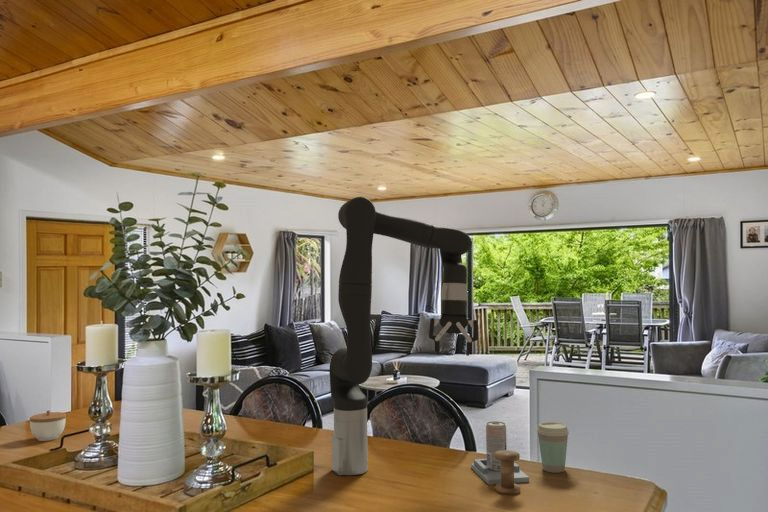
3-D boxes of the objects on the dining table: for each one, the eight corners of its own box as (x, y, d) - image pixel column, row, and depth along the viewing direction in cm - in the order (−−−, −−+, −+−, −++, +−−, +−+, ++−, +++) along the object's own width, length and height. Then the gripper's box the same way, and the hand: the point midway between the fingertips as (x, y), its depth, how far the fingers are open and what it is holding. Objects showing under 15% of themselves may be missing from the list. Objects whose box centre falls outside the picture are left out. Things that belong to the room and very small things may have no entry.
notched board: (529, 481, 156) (528, 471, 156) (488, 484, 154) (488, 474, 154) (509, 465, 170) (508, 456, 170) (471, 467, 168) (471, 458, 168)
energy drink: (505, 465, 166) (505, 421, 166) (507, 471, 161) (507, 426, 161) (486, 465, 166) (485, 421, 167) (487, 471, 161) (486, 425, 162)
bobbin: (505, 496, 146) (504, 458, 146) (490, 488, 152) (490, 452, 152) (525, 492, 149) (524, 455, 149) (510, 484, 154) (509, 449, 154)
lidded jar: (72, 437, 207) (72, 409, 207) (40, 444, 198) (40, 415, 198) (55, 433, 212) (55, 406, 213) (23, 440, 203) (23, 412, 204)
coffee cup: (570, 466, 169) (569, 422, 169) (569, 475, 161) (568, 430, 161) (538, 463, 171) (537, 420, 172) (536, 472, 163) (535, 427, 164)
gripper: (429, 297, 176) (428, 354, 174) (479, 299, 174) (478, 356, 173) (430, 298, 183) (428, 353, 181) (477, 300, 182) (476, 355, 180)
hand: (452, 354), depth 177 cm, fingers open, 8 cm apart
